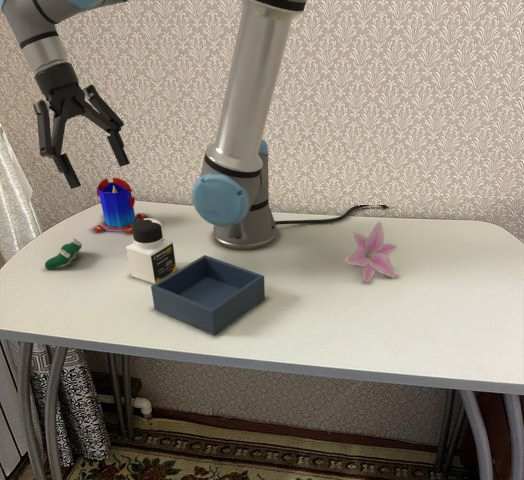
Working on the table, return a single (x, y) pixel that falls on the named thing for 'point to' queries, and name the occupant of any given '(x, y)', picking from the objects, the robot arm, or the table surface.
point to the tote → (208, 294)
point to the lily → (372, 253)
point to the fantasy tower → (117, 206)
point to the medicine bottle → (150, 252)
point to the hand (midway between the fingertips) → (101, 176)
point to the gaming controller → (64, 255)
